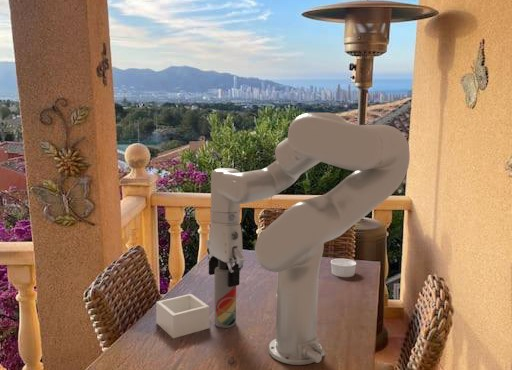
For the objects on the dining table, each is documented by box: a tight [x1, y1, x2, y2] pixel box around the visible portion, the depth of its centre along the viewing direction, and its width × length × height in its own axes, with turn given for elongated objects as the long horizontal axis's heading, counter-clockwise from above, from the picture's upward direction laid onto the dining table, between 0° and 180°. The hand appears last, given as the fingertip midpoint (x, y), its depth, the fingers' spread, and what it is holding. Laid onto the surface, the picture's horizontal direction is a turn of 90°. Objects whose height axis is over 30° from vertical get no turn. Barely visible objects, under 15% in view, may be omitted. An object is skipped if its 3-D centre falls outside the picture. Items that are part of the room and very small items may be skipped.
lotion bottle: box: [213, 258, 237, 329], centre depth 126 cm, size 6×6×20 cm
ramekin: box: [330, 258, 357, 278], centre depth 167 cm, size 9×9×4 cm
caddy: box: [155, 293, 210, 339], centre depth 125 cm, size 10×10×6 cm
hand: (223, 279), depth 126 cm, fingers open, 9 cm apart
